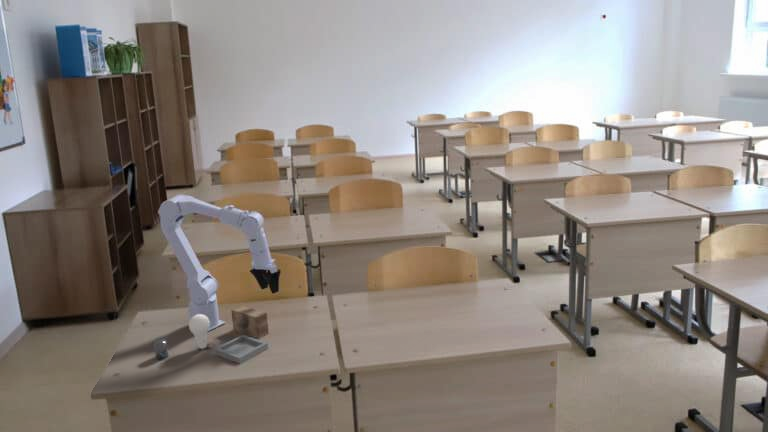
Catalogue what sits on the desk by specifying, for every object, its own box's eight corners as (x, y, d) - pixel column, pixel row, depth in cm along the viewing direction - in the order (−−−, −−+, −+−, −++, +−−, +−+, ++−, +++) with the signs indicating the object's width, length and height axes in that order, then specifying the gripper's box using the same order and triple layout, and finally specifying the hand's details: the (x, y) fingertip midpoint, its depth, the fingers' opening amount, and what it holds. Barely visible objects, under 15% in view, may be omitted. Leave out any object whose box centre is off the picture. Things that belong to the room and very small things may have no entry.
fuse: (153, 358, 187) (151, 342, 186) (163, 353, 190) (161, 337, 189) (160, 361, 185) (158, 345, 184) (171, 356, 188) (168, 340, 187)
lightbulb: (207, 353, 188) (202, 319, 185) (188, 352, 189) (183, 318, 187) (216, 344, 194) (212, 311, 191) (198, 343, 195) (193, 310, 192)
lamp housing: (232, 330, 203) (229, 310, 201) (243, 324, 207) (241, 305, 205) (257, 339, 196) (255, 318, 195) (269, 333, 200) (267, 312, 198)
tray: (215, 354, 188) (214, 348, 187) (243, 340, 196) (242, 334, 196) (240, 363, 181) (239, 358, 181) (268, 348, 190) (267, 343, 189)
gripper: (281, 248, 195) (291, 289, 198) (260, 243, 206) (270, 282, 209) (261, 256, 191) (271, 297, 194) (241, 250, 202) (251, 289, 206)
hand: (270, 290), depth 201 cm, fingers open, 7 cm apart
